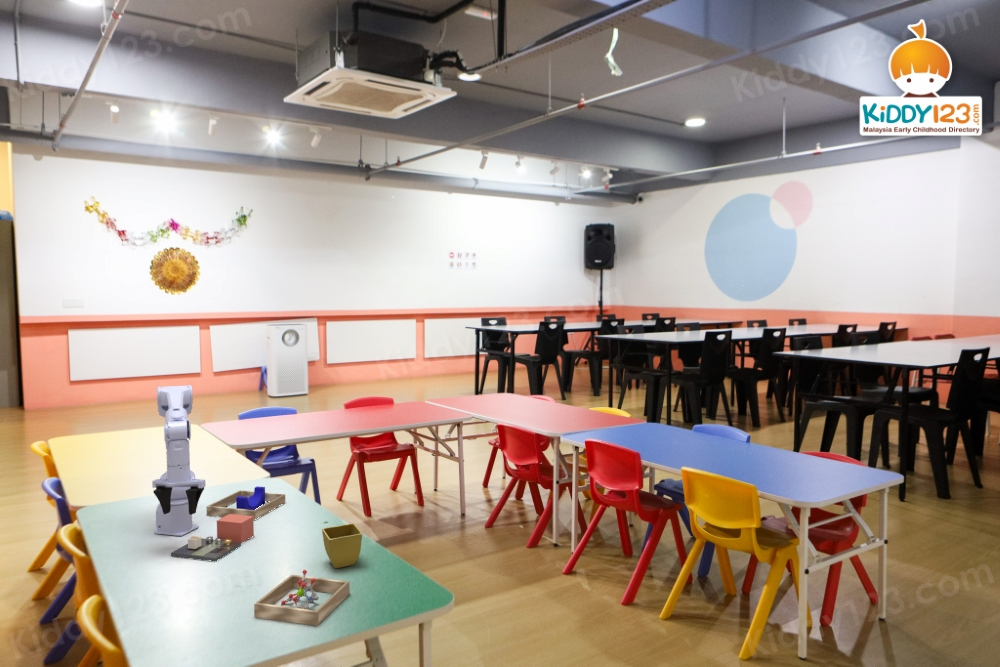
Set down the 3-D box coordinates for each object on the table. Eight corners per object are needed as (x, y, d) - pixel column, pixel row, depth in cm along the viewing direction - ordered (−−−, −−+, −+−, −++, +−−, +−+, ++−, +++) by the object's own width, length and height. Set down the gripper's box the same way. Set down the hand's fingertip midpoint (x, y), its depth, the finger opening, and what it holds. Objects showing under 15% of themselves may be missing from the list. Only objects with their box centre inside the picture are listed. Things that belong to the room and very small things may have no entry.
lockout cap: (217, 540, 189) (216, 520, 189) (229, 533, 195) (229, 513, 194) (241, 543, 187) (241, 523, 187) (253, 536, 193) (253, 516, 192)
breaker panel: (170, 556, 178) (170, 548, 178) (198, 541, 189) (198, 533, 188) (215, 561, 175) (215, 553, 175) (241, 546, 185) (241, 538, 185)
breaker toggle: (188, 548, 180) (187, 538, 180) (193, 544, 183) (193, 535, 183) (195, 549, 180) (195, 539, 180) (201, 545, 182) (201, 536, 182)
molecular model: (310, 595, 157) (309, 565, 156) (323, 608, 150) (322, 577, 150) (279, 603, 152) (279, 572, 152) (291, 617, 146) (291, 585, 145)
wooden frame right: (254, 617, 146) (254, 604, 146) (291, 586, 161) (291, 574, 161) (317, 625, 142) (317, 612, 142) (349, 593, 157) (349, 581, 157)
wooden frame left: (206, 515, 210) (206, 506, 209) (240, 498, 226) (240, 490, 226) (254, 520, 206) (254, 511, 205) (285, 503, 222) (285, 494, 222)
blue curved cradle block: (253, 503, 222) (252, 486, 222) (265, 504, 221) (265, 487, 221) (232, 515, 210) (232, 497, 210) (245, 516, 210) (244, 498, 209)
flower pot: (329, 573, 168) (329, 539, 168) (321, 560, 176) (321, 528, 175) (363, 566, 172) (362, 533, 172) (354, 554, 180) (354, 522, 180)
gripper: (144, 467, 178) (145, 517, 178) (194, 467, 176) (195, 518, 176) (160, 461, 185) (162, 509, 185) (209, 462, 183) (210, 510, 183)
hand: (179, 513), depth 181 cm, fingers open, 7 cm apart
